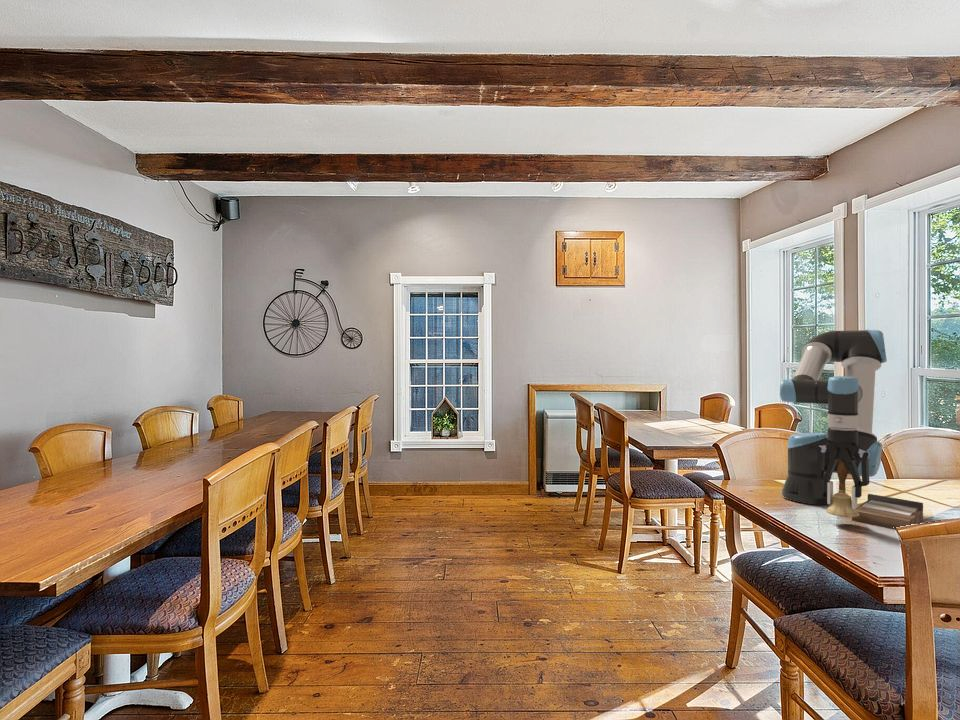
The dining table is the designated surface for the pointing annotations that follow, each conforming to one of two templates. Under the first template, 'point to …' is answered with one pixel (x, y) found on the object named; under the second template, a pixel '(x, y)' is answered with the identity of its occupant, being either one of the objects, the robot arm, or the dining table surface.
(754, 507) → the dining table surface
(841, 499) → the hand bell
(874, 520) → the brown wooden display stand
